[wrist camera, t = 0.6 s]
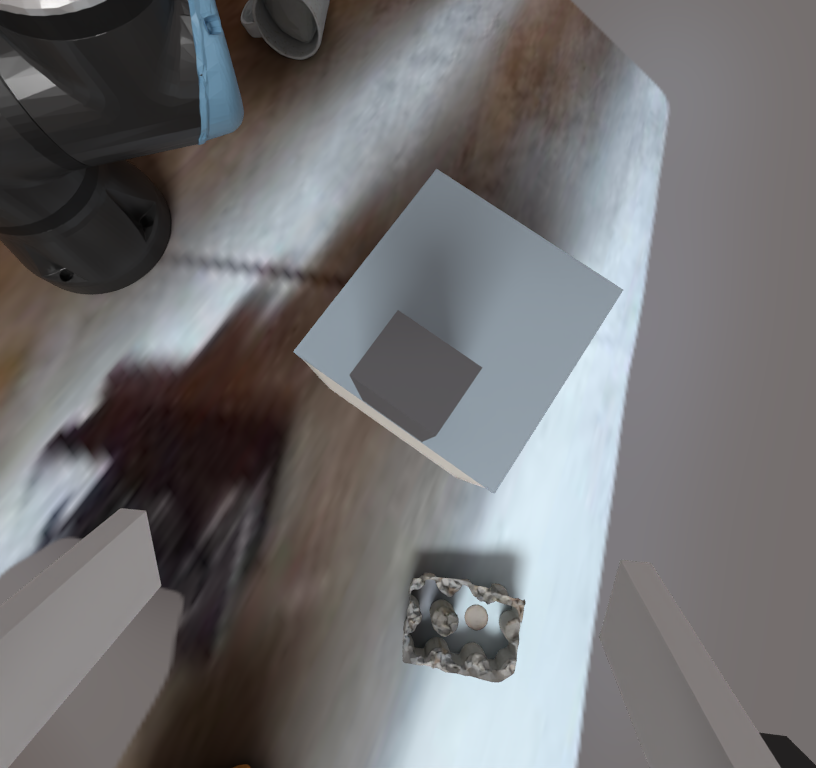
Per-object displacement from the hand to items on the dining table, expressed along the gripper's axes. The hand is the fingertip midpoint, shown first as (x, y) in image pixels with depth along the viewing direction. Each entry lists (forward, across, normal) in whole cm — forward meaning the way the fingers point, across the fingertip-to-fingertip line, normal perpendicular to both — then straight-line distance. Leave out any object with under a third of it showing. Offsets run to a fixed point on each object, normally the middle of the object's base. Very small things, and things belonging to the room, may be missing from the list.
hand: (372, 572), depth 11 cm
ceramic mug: (+51, -20, +32) cm, 63 cm away
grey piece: (+21, +5, -25) cm, 33 cm away
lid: (+21, +3, +3) cm, 22 cm away
